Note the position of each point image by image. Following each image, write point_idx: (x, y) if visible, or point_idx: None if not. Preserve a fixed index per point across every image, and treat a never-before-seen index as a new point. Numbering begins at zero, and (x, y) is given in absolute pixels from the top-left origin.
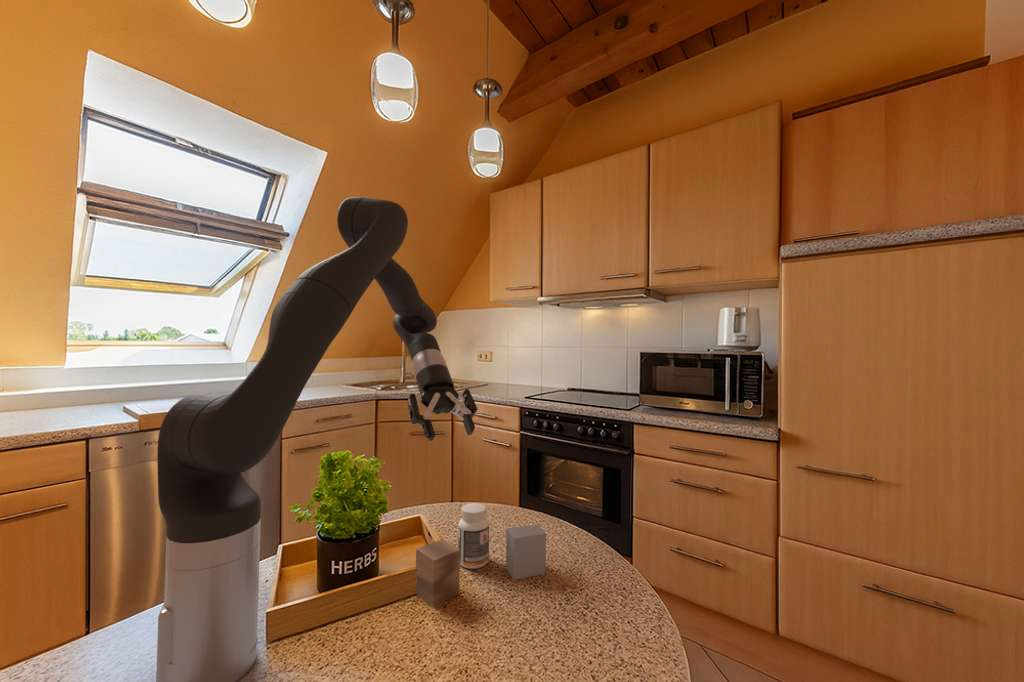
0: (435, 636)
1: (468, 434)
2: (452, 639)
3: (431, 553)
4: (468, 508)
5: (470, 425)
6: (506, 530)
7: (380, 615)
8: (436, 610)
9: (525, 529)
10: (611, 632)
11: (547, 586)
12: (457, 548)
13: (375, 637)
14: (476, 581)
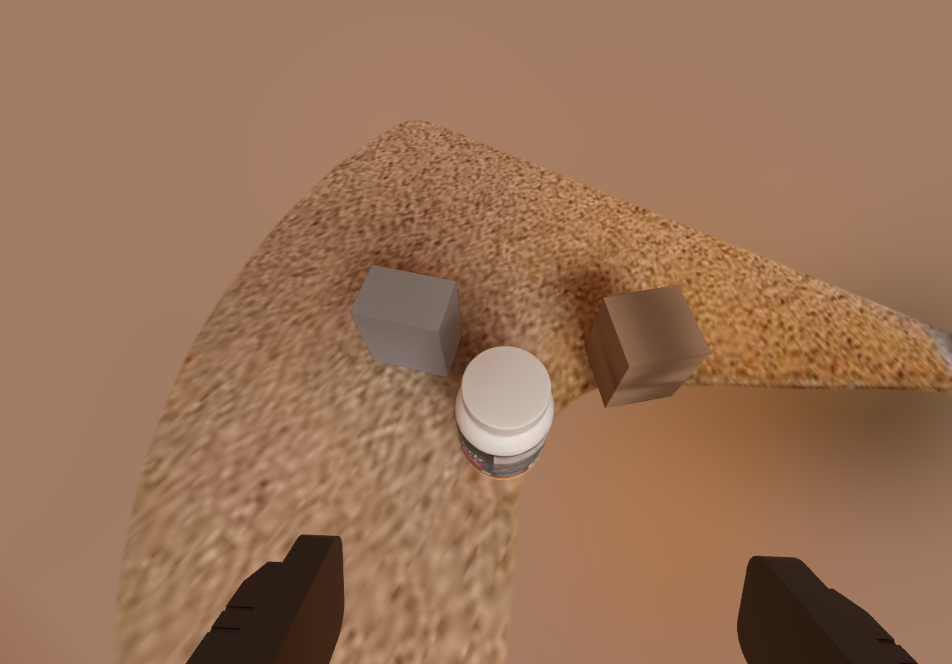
0: (660, 274)
1: (342, 603)
2: (636, 258)
3: (676, 313)
4: (525, 388)
5: (305, 569)
6: (438, 335)
7: (749, 363)
8: None
9: (398, 303)
10: (423, 175)
11: None
12: (607, 304)
13: (758, 315)
14: None
